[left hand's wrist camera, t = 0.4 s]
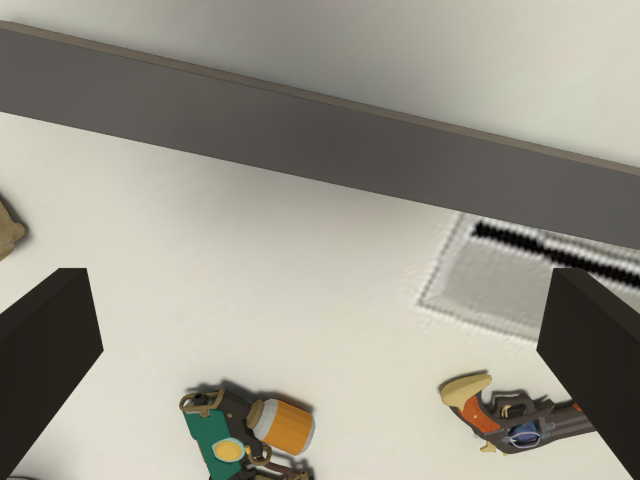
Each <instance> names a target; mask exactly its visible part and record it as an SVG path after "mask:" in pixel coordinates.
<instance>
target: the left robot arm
mask: <svg viewBox="0 0 640 480" xmlns="http://www.w3.org/2000/svg"><path fill="white" fill-rule="evenodd" d="M103 351H104V349H103V345H102V340H101V335H100V330H99V325H98V321H97V316H96V311H95V306H94V302H93V297H92V292H91V287H90V283H89V278H88V273H87V268H59V269H57V270H56V271H55V272H53V273H52V274H51V275H50V276H48V277H47V278H46V279H45V280H43V281H42V282H41V283H39V284H38V285H37V286H36V287H34V288H33V289H32V290H31V291H29V292H28V293H27V294H25V295H24V296H23V297H22V298H20V299H19V300H18V301H16V302H15V303H14V304H13V305H11V306H10V307H9V308H8V309H6V310H5V311H4V312H2V313H1V314H0V480H6V479H7V478H8V477H9V475H10V474H11V473H12V472H13V470H14V469H15V468H16V466H17V465H18V464H19V462H20V461H21V460H22V458H23V457H24V456H25V454H26V453H27V452H28V450H29V449H30V448H31V446H32V445H33V444H34V442H35V441H36V440H37V438H38V437H39V436H40V434H41V433H42V432H43V430H44V429H45V428H46V426H47V425H48V424H49V422H50V421H51V420H52V418H53V417H54V416H55V414H56V413H57V412H58V411H59V409H60V408H61V407H62V405H63V404H64V403H65V401H66V400H67V399H68V397H69V396H70V395H71V393H72V392H73V391H74V389H75V388H76V387H77V385H78V384H79V383H80V381H81V380H82V379H83V377H84V376H85V375H86V373H87V372H88V371H89V369H90V368H91V367H92V365H93V364H94V363H95V361H96V360H97V359H98V357H99V356H100V355H101V354H102V352H103ZM536 351H537V352H538V354H539V355H540V356H541V357H542V359H543V360H544V361H545V363H546V364H547V365H548V367H549V368H550V369H551V371H552V372H553V373H554V375H555V376H556V377H557V379H558V380H559V381H560V383H561V384H562V385H563V387H564V388H565V389H566V391H567V392H568V393H569V395H570V396H571V397H572V399H573V400H574V401H575V403H576V404H577V405H578V407H579V408H580V409H581V411H582V412H583V413H584V414H585V416H586V417H587V418H588V420H589V421H590V422H591V424H592V425H593V426H594V428H595V429H596V430H597V432H598V433H599V434H600V436H601V437H602V438H603V440H604V441H605V442H606V444H607V445H608V446H609V448H610V449H611V450H612V452H613V453H614V454H615V456H616V457H617V458H618V460H619V461H620V462H621V464H622V465H623V466H624V468H625V469H626V470H627V472H628V473H629V474H630V475H631V477H632V478H633V479H634V480H640V314H639V313H638V312H636V311H635V310H634V309H632V308H631V307H630V306H629V305H627V304H626V303H625V302H624V301H622V300H621V299H620V298H618V297H617V296H616V295H615V294H613V293H612V292H611V291H609V290H608V289H607V288H606V287H604V286H603V285H602V284H601V283H599V282H598V281H597V280H595V279H594V278H593V277H592V276H590V275H589V274H588V273H587V272H585V271H584V270H583V269H581V268H553V273H552V278H551V283H550V287H549V292H548V297H547V302H546V306H545V311H544V316H543V321H542V325H541V330H540V335H539V340H538V345H537V349H536Z"/></svg>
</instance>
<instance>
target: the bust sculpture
mask: <svg viewBox="0 0 640 480" xmlns="http://www.w3.org/2000/svg"><path fill="white" fill-rule="evenodd" d="M6 480H28V479H21V478H7V479H6Z"/></svg>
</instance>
